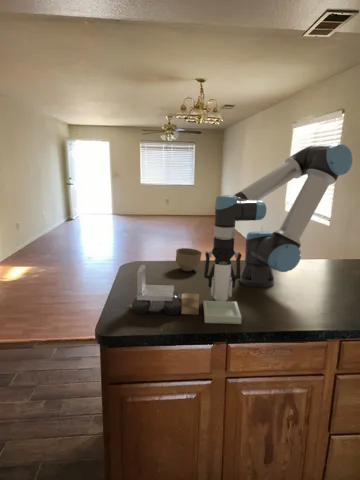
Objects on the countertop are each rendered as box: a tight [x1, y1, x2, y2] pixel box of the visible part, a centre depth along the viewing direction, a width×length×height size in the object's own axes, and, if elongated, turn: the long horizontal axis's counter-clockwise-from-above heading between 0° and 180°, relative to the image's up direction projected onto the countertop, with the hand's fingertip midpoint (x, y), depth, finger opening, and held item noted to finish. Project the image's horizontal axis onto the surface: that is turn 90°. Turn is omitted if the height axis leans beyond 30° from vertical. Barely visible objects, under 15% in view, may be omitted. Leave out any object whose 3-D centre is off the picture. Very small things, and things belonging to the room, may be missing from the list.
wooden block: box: [180, 293, 200, 315], centre depth 112 cm, size 6×4×6 cm, turn 88°
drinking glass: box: [213, 261, 232, 301], centre depth 121 cm, size 7×7×15 cm
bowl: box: [175, 247, 203, 272], centre depth 155 cm, size 13×13×10 cm
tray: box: [202, 300, 243, 325], centre depth 110 cm, size 12×12×2 cm
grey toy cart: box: [131, 264, 182, 316], centre depth 111 cm, size 17×10×16 cm, turn 88°
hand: (221, 294), depth 122 cm, fingers closed on drinking glass, 6 cm apart
